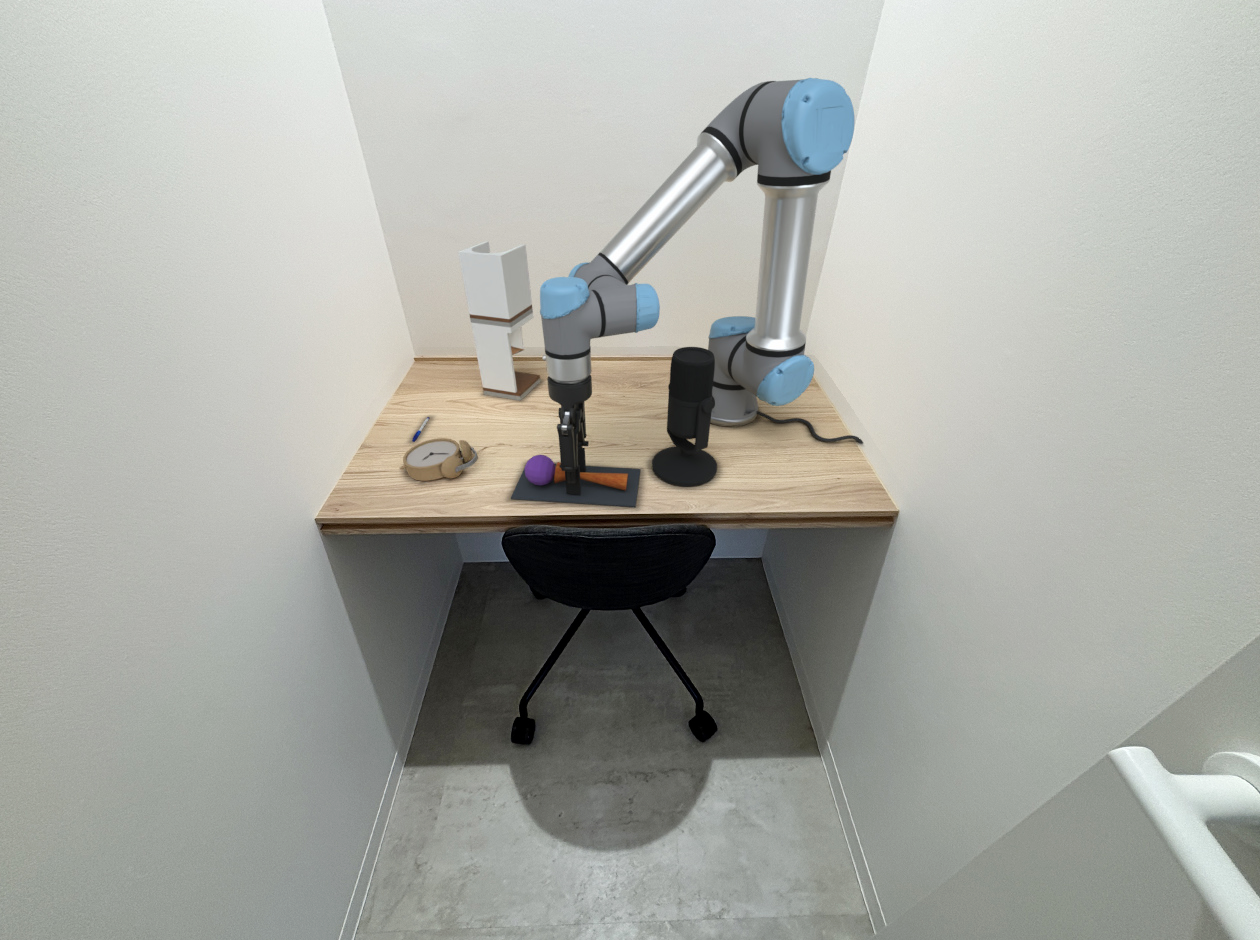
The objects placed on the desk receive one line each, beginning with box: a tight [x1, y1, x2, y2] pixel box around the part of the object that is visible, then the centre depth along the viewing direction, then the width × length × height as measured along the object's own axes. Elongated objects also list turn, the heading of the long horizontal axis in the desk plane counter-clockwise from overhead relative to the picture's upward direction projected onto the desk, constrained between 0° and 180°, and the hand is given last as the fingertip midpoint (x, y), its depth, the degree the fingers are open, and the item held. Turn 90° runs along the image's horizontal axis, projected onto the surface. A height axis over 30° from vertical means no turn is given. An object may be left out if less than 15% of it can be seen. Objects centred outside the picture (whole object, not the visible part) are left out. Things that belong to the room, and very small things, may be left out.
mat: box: [510, 463, 642, 508], centre depth 100 cm, size 24×12×1 cm, turn 84°
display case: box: [457, 241, 541, 401], centre depth 124 cm, size 11×11×35 cm
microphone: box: [651, 346, 718, 488], centre depth 98 cm, size 14×14×25 cm
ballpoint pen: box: [411, 416, 430, 443], centre depth 117 cm, size 10×1×1 cm, turn 1°
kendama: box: [523, 454, 628, 491], centre depth 98 cm, size 6×6×20 cm
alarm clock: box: [399, 437, 478, 482], centre depth 104 cm, size 11×5×15 cm
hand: (576, 483), depth 99 cm, fingers closed on kendama, 5 cm apart
